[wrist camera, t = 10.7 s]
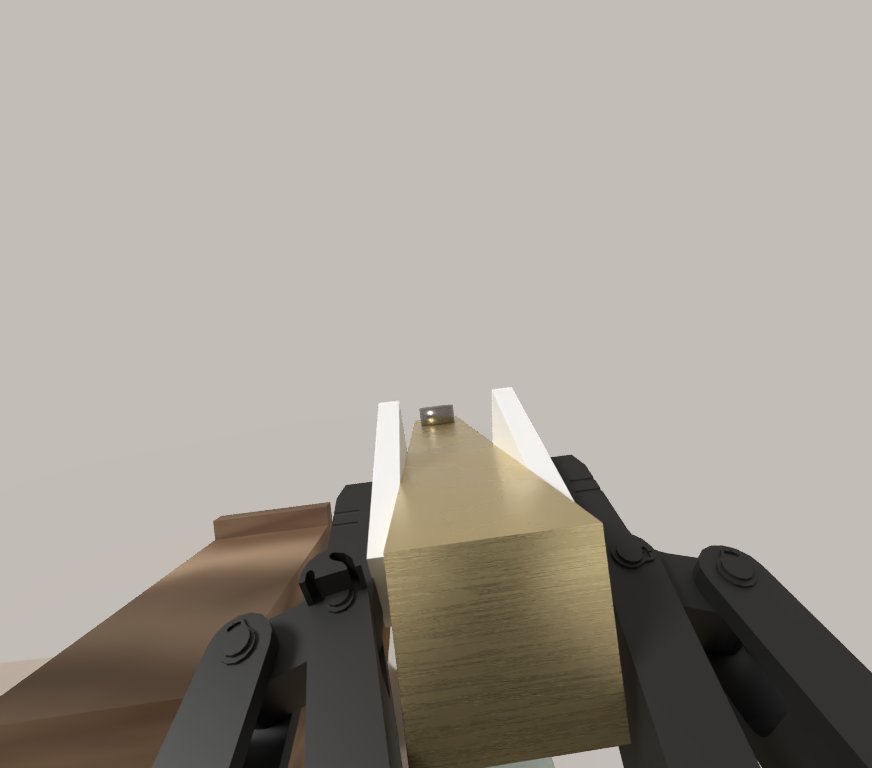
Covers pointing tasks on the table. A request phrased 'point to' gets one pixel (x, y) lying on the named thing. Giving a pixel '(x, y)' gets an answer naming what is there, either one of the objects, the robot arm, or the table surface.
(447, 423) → the brass bar
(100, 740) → the walnut stand
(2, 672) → the table surface
